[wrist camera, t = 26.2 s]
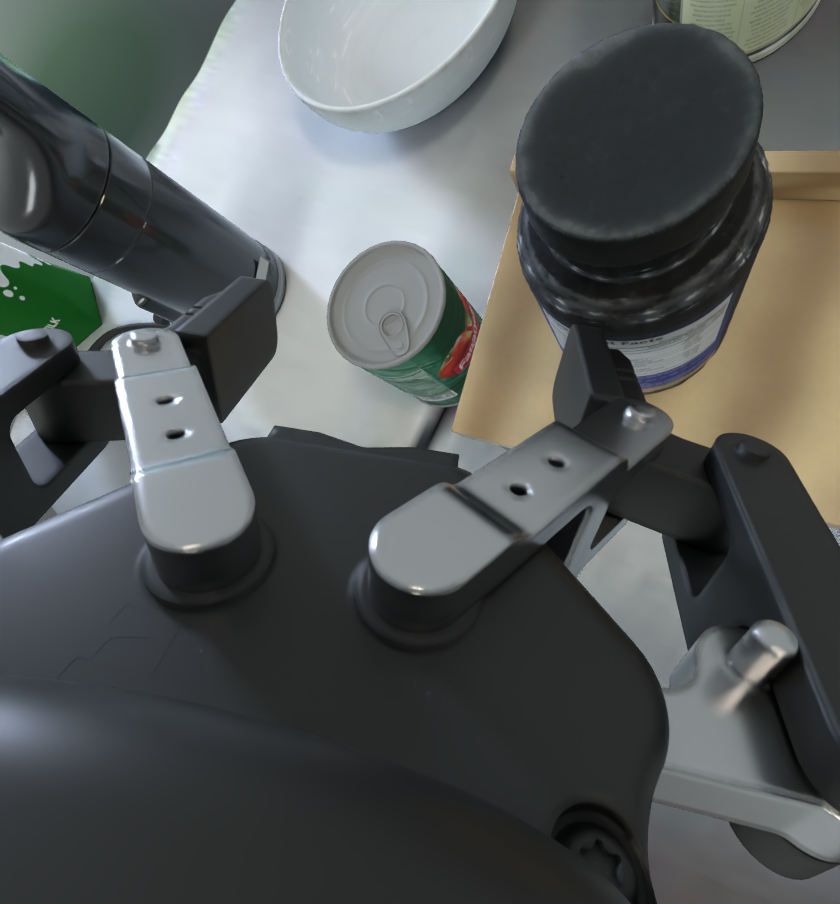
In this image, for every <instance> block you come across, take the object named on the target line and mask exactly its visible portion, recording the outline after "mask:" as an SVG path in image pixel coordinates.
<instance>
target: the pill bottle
mask: <svg viewBox="0 0 840 904" xmlns="http://www.w3.org/2000/svg"><path fill="white" fill-rule="evenodd" d="M762 117H763V94H762V88H761V85H760V79H759V75H758V73H757V71H756V69H755V67H754V65H753V63H752V61H751V60H750V59H749V57H748V56H747V55H746V54H745V52H744V51H743V50H742V49H741V48H740V47H739V46H738V45H737V44H736V43H735V42H733V41H732V40H730V39H728V38H727V37H726V36H725V35H723V34H721V33H720V32H717V31H714V30H711V29H706V28H703V27H701V26H697V25H695V24H682V23H679V22H673V23H656V24H654V25H644V26H641V27H636V28H633V29H630V30H626V31H624V32H621V33H619V34H616V35H613V36H611V37H609V38H607V39H605V40H601V41H600V42H598V43H596V44H595V45H593V46H592V47H590V48H588V49H587V50H585V51H583V52H581V53H580V54H579V55H578V56H577V57H575V58H574V59H572V60H571V61H570V62H569V63H568V64H567V65H565V66H564V67H563V68H562V69H561V70H560V71H559V72H557V73H556V74H555V75H554V76H553V78H552V79H551V80H550V82H549V83H548V84H547V85H546V86H545V87H544V89H543V90H542V91H541V92H540V94H539V96H538V97H537V98H536V100H535V101H534V103H533V105H532V106H531V108H530V110H529V112H528V113H527V115H526V118H525V122H524V124H523V126H522V129H521V131H520V134H519V139H518V143H517V150H516V155H515V158H516V168H515V172H516V178H517V184H518V190H519V193H520V196H521V198H522V201H523V202H522V205H521V211H520V214H519V217H518V225H517V227H518V228H517V250H518V255H519V261H520V265H521V268H522V272H523V275H524V277H525V280H526V282H527V283H528V285H529V287H530V290H531V291H532V293H533V295H534V297H535V299H536V300H537V302H538V304H539V306H540V308H541V310H542V312H543V314H544V316H545V318H546V320H547V322H548V324H549V326H550V328H551V330H552V332H553V334H554V336H555V338H556V340H557V342H558V344H559V346H560V348H561V350H562V351H563V350H564V347H565V343H566V340H567V336H568V333H569V330H570V328H571V326H572V325H573V324H575V325H582V326H589V327H596V328H602V329H603V332H604V335H605V338H606V341H607V344H608V347H609V348H611V349H618V350H620V351H621V352H622V353H623V354H624V355H625V356H626V357H627V358H628V359H629V360H631V363H632V366H633V368H634V371H635V372H634V373H636V376H637V379H638V382H639V384H640V386H641V389H642V392H643V394H644V395H648V394H653V393H657V392H661V391H664V390H667V389H671V388H674V387H676V386H679V385H681V384H682V383H684V382H685V381H686V380H688V379H689V378H691V377H692V376H693V375H695V374H696V373H697V372H699V371H700V370H701V369H702V368H703V367H704V366H705V364H706V363H707V362H708V360H709V359H710V358H711V357H712V356H713V355H714V354H715V353H716V351H717V350H718V348H719V347H720V345H721V343H722V341H723V339H724V337H725V335H726V332H727V329H728V327H729V324H730V322H731V319H732V317H733V314H734V312H735V309H736V307H737V304H738V302H739V300H740V297H741V295H742V292H743V290H744V287H745V284H746V282H747V279H748V277H749V274H750V272H751V269H752V267H753V264H754V262H755V259H756V257H757V254H758V252H759V249H760V247H761V245H762V243H763V241H764V238H765V235H766V233H767V229H768V227H769V223H770V221H771V218H770V216H771V213H772V208H773V206H772V203H773V188H772V177H771V173H770V170H769V163H768V161H767V159H766V156H765V153H764V150H763V149H762V147H761V146H760V144H759V143H758V142H757V141H758V137H759V133H760V127H761V122H762Z"/></svg>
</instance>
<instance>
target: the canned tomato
mask: <svg viewBox="0 0 840 904" xmlns="http://www.w3.org/2000/svg"><path fill="white" fill-rule="evenodd" d="M481 324H482V319H481V317H480V316H479V314H477V312H476V311H475V310H474V308H473V307H472V306H471V305H470V303H469V302H468V301H467V300H466V298H465V297H464V296H463V295H462V293H461V292H460V291H459V290H458V288H457V287H456V286H455V285H454V283H453V282H452V281H451V280H450V278H449V277H448V276H447V275H446V273H445V272H444V271H443V270H442V269H441V268H440V266H439V265H438V263H437V262H436V260H435V259H434V257H433V256H432V255H431V254H430V253H428V252H427V251H426V250H425V249H424V248H422V247H420V246H418V245H416V244H414V243H410V242H406V241H389V242H384V243H380V244H377V245H375V246H372V247H370V248H368V249H367V250H365V251H364V252H362V253H360V254H359V255H358V256H357V257H356V258H354V259H353V260H352V261H351V262H350V263H349V264H348V265H347V267H346V268H345V269H344V270H343V271H342V273H341V274H340V276H339V278H338V279H337V281H336V283H335V285H334V287H333V290H332V292H331V295H330V299H329V303H328V309H327V325H328V331H329V334H330V338H331V340H332V342H333V344H334V346H335V348H336V349H337V351H338V352H339V353H340V354H341V355H342V356H343V357H344V358H345V359H346V360H348V361H349V362H351V363H352V364H354V365H357V366H359V367H361V368H363V369H365V370H366V371H368V372H370V373H372V374H373V375H375V376H377V377H379V378H381V379H383V380H384V381H386V382H388V383H390V384H392V385H393V386H395V387H397V388H399V389H400V390H403V391H404V392H406V393H408V394H409V395H412V396H413V397H415V398H417V399H419V400H420V401H422V402H423V403H426V404H428V405H431V406H436V407H452V406H456V405H459V402H460V398H461V395H462V391H463V388H464V384H465V380H466V377H467V373H468V370H469V366H470V363H471V359H472V356H473V352H474V349H475V345H476V342H477V338H478V334H479V331H480V327H481Z"/></svg>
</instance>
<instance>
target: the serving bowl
mask: <svg viewBox="0 0 840 904" xmlns="http://www.w3.org/2000/svg"><path fill="white" fill-rule="evenodd" d="M516 3H517V0H285V3H284V7H283V10H282V14H281V19H280V25H279V33H278V52H279V59H280V65H281V69H282V72H283V75H284V78H285V79H286V81H287V83H288V85H289V87H290V88H291V89H292V91H293V92H294V93H295V95H296V96H297V97H298V98H299V99H300V100H302V101H303V102H304V103H305V104H306V105H307V106H308V107H309V108H311V109H312V110H313V111H314V112H315V113H317V114H318V115H319V116H321V117H322V118H324V119H326V120H327V121H329V122H331V123H333V124H335V125H337V126H340V127H342V128H345V129H348V130H353V131H357V132H365V133H384V132H391V131H396V130H401V129H404V128H408V127H411V126H413V125H416V124H418V123H420V122H422V121H424V120H426V119H428V118H430V117H432V116H434V115H435V114H437V113H438V112H440V111H442V110H443V109H444V108H446V107H447V106H449V105H450V104H451V103H452V102H453V101H455V100H456V99H457V98H458V97H459V96H460V95H462V94H463V93H464V92H465V91H466V90H467V89H468V88H469V87H470V86H471V84H472V83H473V82H474V81H475V80H476V79H477V78H478V76H479V75H480V74H481V73H482V71H483V70H484V69H485V68H486V66H487V65H488V63H489V62H490V60H491V59H492V57H493V55H494V54H495V52H496V51H497V49H498V47H499V45H500V43H501V41H502V39H503V37H504V35H505V33H506V31H507V29H508V26H509V24H510V21H511V18H512V16H513V13H514V10H515V7H516Z"/></svg>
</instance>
